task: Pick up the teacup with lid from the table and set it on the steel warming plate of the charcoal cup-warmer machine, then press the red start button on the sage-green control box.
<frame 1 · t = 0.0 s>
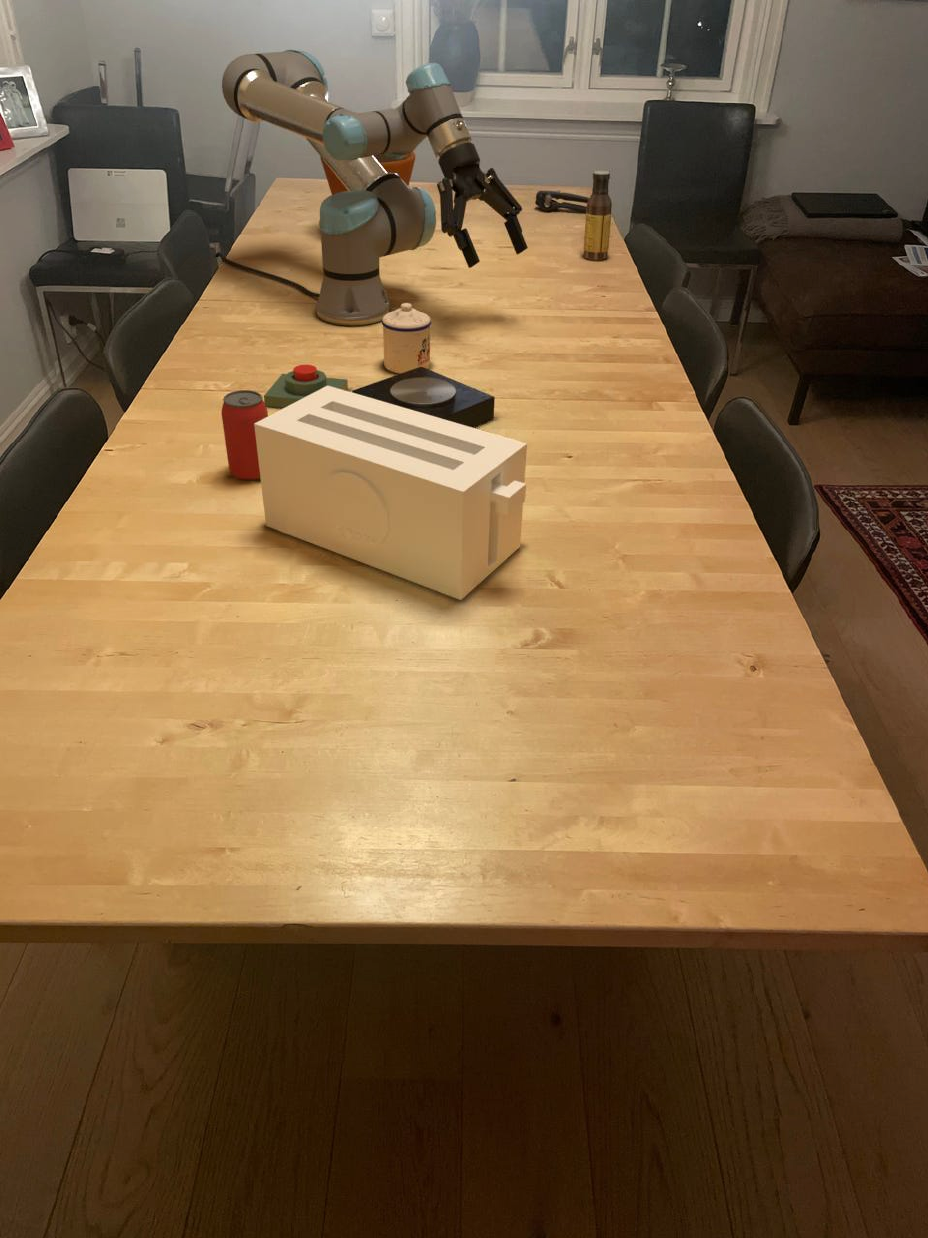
hand: (499, 257, 186), 15 cm above the table, tool tilted 35°, fingers open, 13 cm apart
cup warmer: (423, 415, 163), on the table
flower pot: (370, 236, 252), on the table
sauce bottle: (594, 258, 241), on the table
toaster: (399, 541, 131), on the table
can opener: (564, 211, 277), on the table
start button: (305, 373, 165), point 4 cm above the table, slide at 0.1 cm
teacup with lid: (408, 364, 182), on the table
control box: (307, 398, 168), on the table
beer can: (251, 472, 146), on the table
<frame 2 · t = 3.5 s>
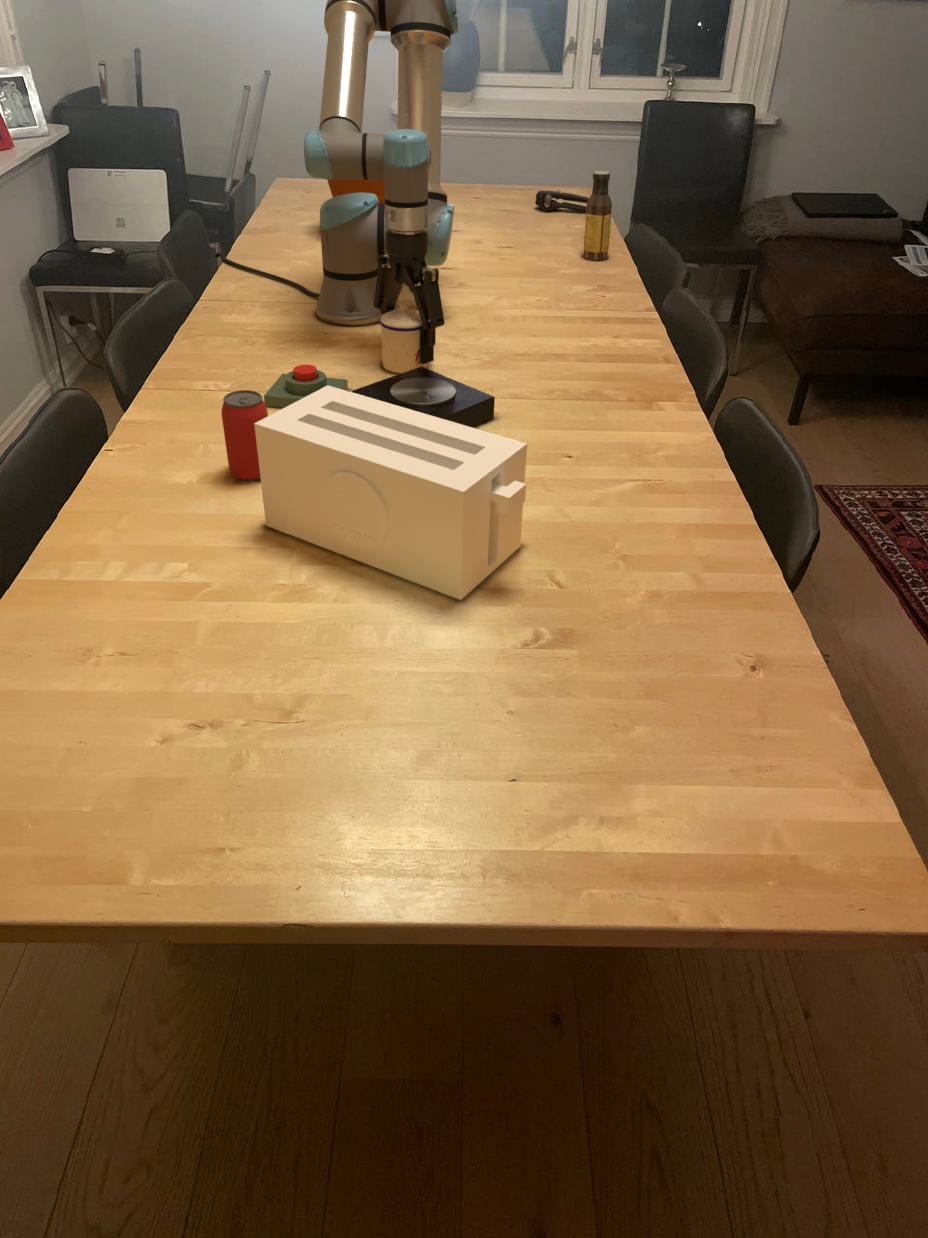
hand: (409, 354, 180), 2 cm above the table, tool pointing down, fingers open, 9 cm apart
teacup with lid: (406, 363, 182), on the table, touching gripper
everything else where it was.
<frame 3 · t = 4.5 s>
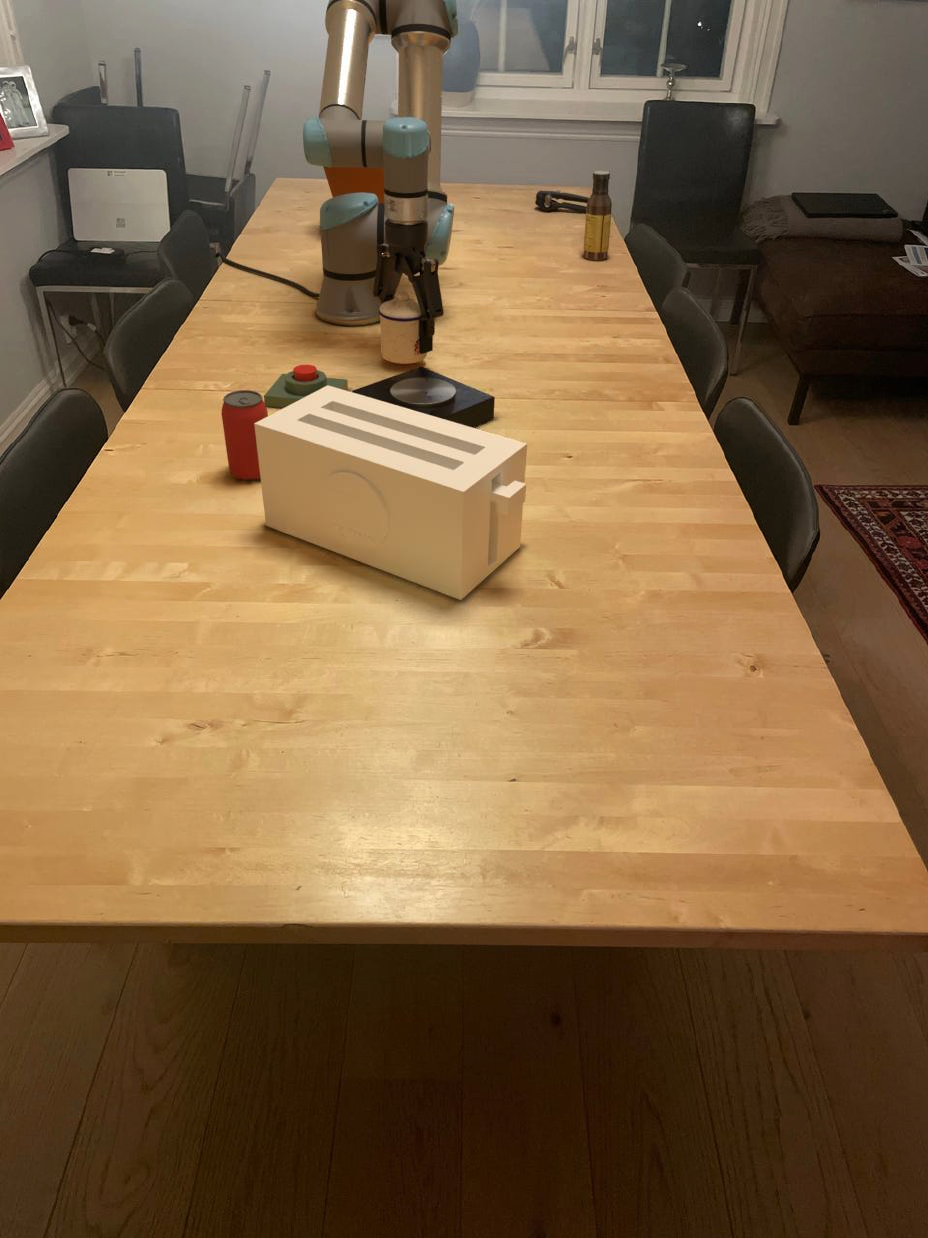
hand: (408, 344, 180), 4 cm above the table, tool pointing down, fingers closed on teacup with lid, 9 cm apart
teacup with lid: (405, 353, 182), point 1 cm above the table, touching gripper
everything else where it was.
when the fingers open (6 cm above the table, at t = 10.9 s): teacup with lid stays where it is, resting on cup warmer.
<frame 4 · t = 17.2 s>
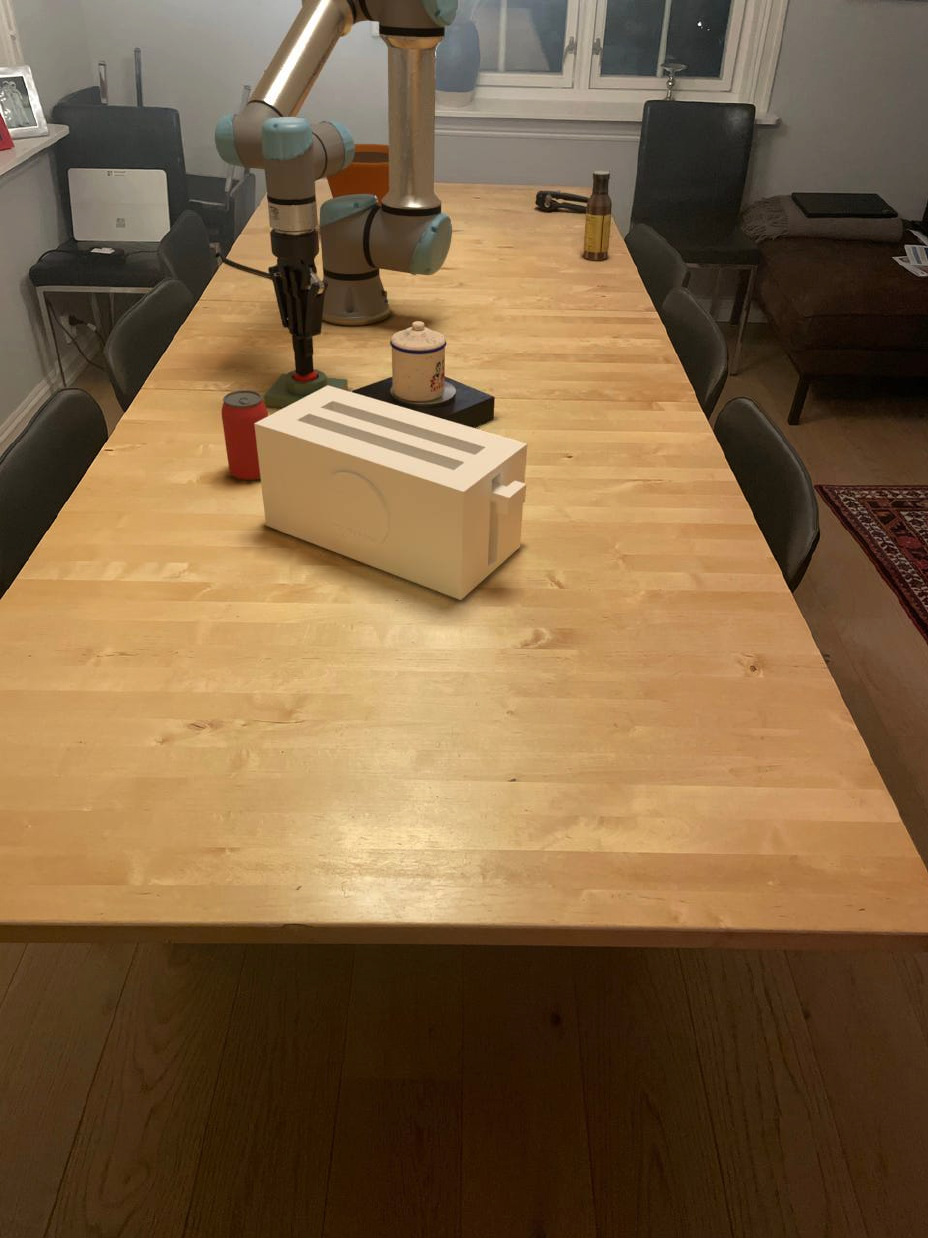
hand: (304, 372, 165), 5 cm above the table, tool pointing down, fingers closed
start button: (305, 378, 166), point 4 cm above the table, slide at -0.7 cm, touching gripper
teacup with lid: (419, 389, 161), point 4 cm above the table, touching cup warmer
everything else where it was.
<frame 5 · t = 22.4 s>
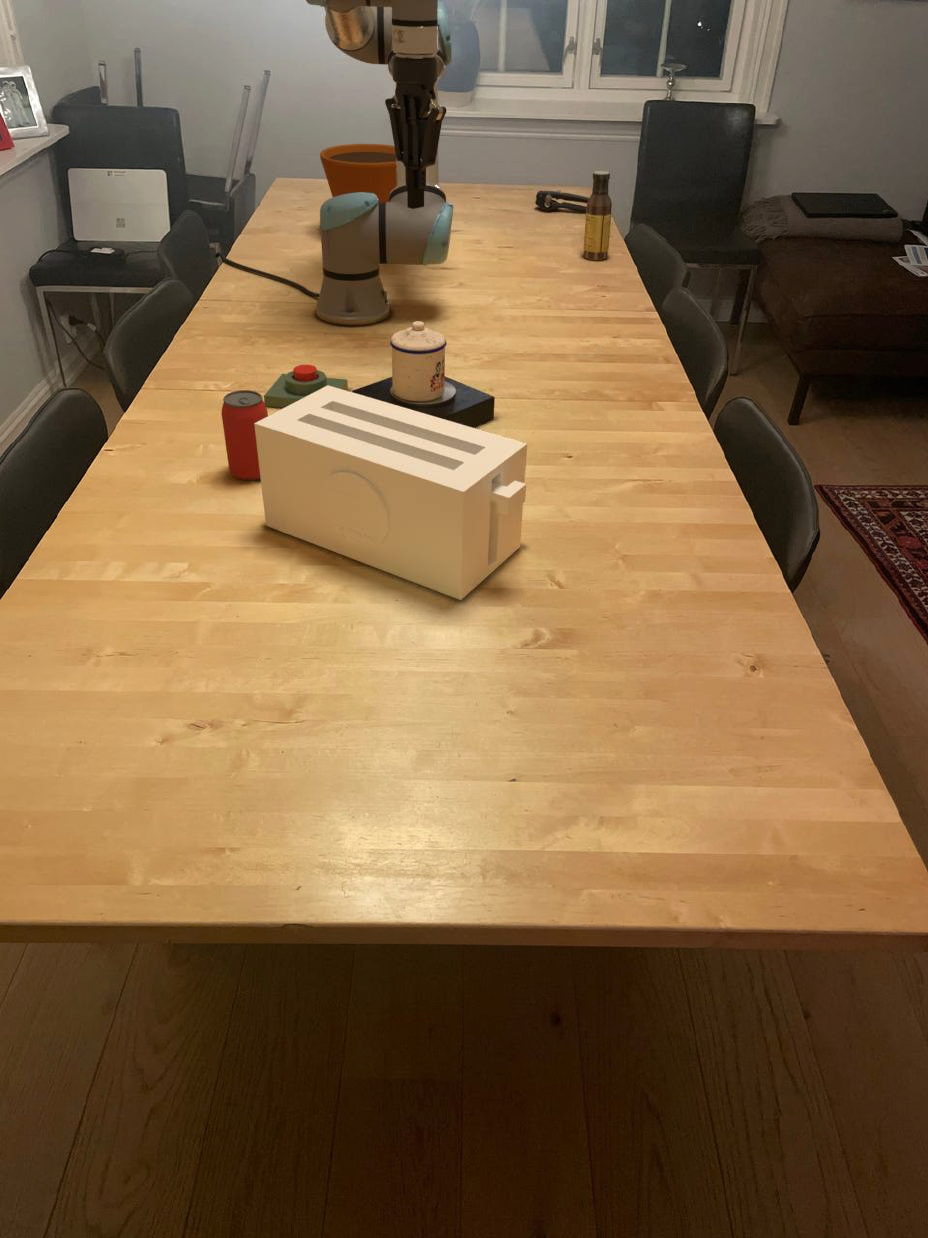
hand: (415, 206, 172), 26 cm above the table, tool pointing down, fingers closed
start button: (305, 373, 165), point 4 cm above the table, slide at 0.1 cm
everything else where it was.
at the end: teacup with lid inside the target area on the cup warmer (0.9 cm from its centre), point 4.4 cm above the cup warmer's base; start button pushed in 1.2 cm at the most during the clip, back to where it started at the end; start button slide at 0.1 cm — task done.
